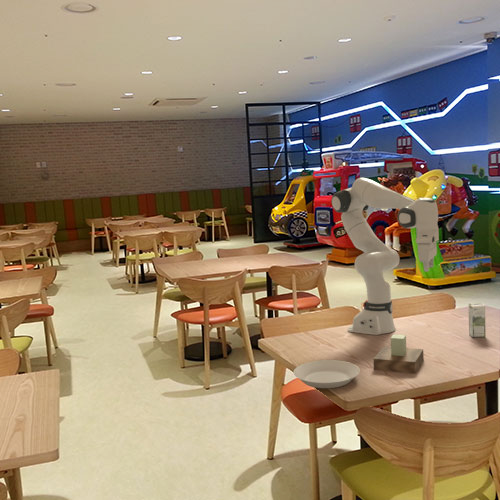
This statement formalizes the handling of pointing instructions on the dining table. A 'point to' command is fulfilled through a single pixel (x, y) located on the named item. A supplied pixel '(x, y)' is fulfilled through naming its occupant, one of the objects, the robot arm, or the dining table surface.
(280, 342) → the dining table surface
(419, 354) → the walnut block
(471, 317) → the syrup box
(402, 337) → the sage block
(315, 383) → the white plate
